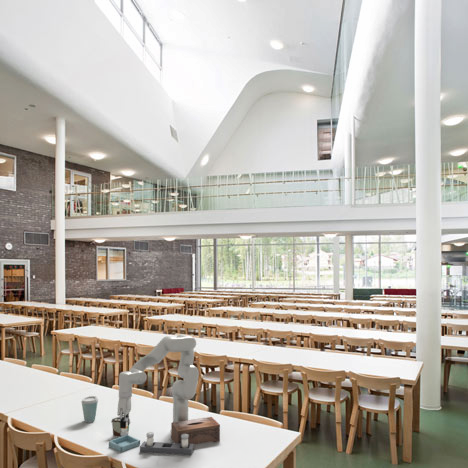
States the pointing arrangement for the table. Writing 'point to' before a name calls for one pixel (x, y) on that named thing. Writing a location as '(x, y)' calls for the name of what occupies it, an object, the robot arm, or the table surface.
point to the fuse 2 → (184, 440)
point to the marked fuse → (125, 429)
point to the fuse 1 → (150, 439)
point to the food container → (117, 427)
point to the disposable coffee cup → (89, 408)
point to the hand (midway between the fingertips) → (124, 426)
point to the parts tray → (124, 443)
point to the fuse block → (167, 448)
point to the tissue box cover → (196, 430)
